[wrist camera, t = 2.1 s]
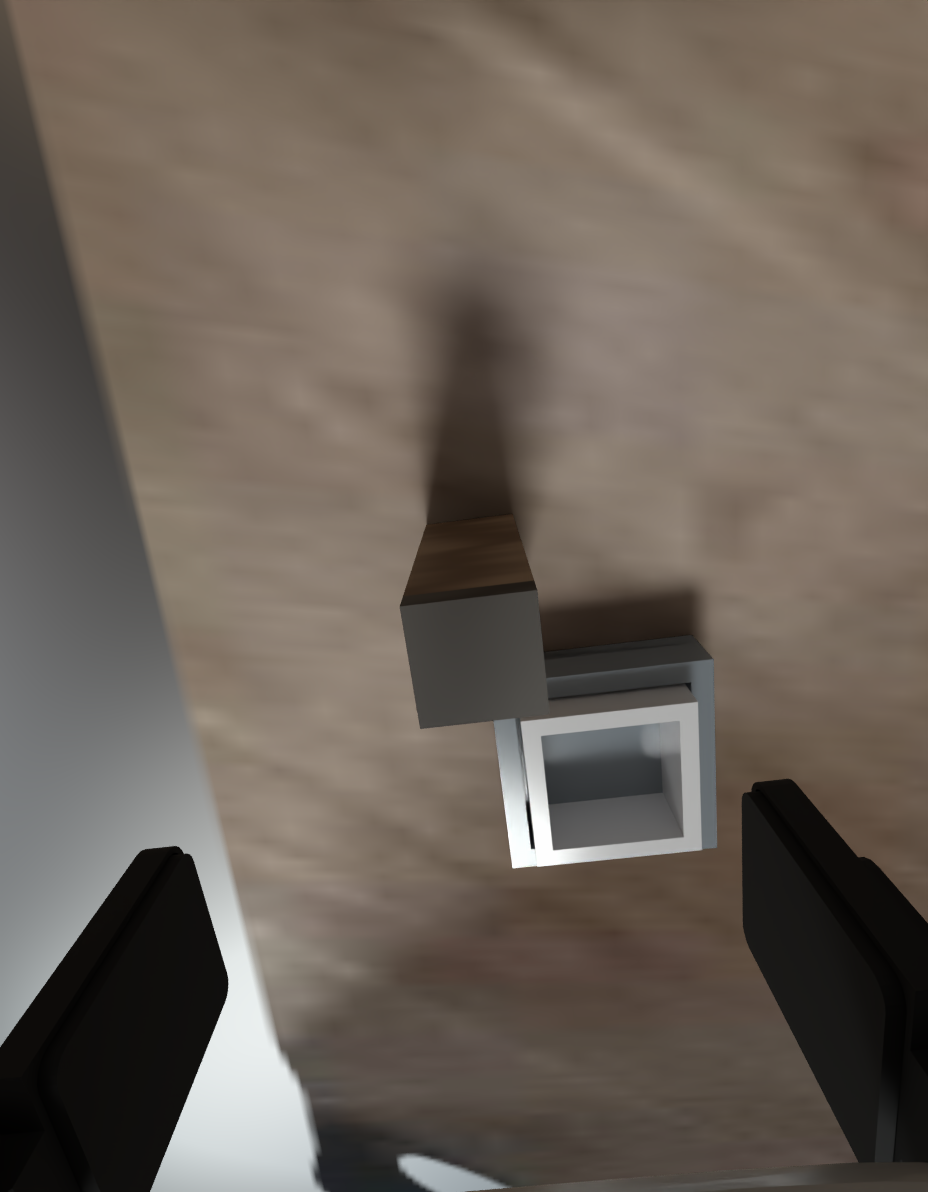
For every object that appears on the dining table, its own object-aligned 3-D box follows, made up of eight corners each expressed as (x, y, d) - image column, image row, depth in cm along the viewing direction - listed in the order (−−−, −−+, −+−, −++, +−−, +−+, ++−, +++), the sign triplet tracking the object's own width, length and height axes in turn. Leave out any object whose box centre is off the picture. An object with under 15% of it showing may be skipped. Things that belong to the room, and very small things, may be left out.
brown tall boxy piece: (512, 513, 30) (537, 590, 19) (521, 596, 32) (549, 714, 20) (426, 524, 31) (399, 606, 19) (438, 606, 32) (420, 728, 20)
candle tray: (691, 634, 32) (726, 673, 28) (696, 810, 35) (728, 868, 31) (487, 658, 33) (489, 699, 28) (509, 829, 36) (514, 890, 31)
